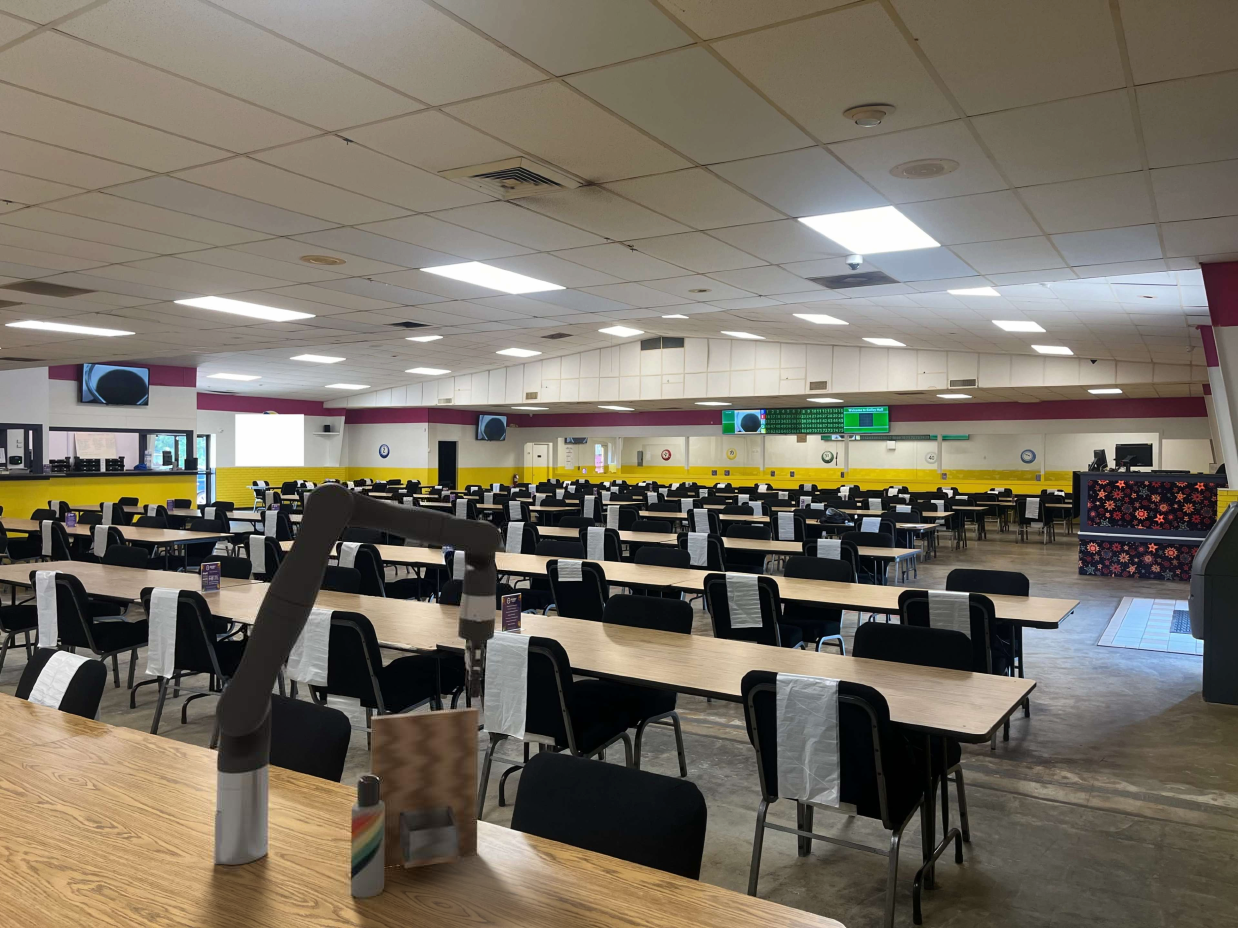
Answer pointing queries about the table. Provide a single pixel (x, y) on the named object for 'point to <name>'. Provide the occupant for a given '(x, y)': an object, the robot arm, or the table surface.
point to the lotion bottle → (367, 839)
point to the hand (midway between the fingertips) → (472, 691)
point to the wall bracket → (427, 784)
